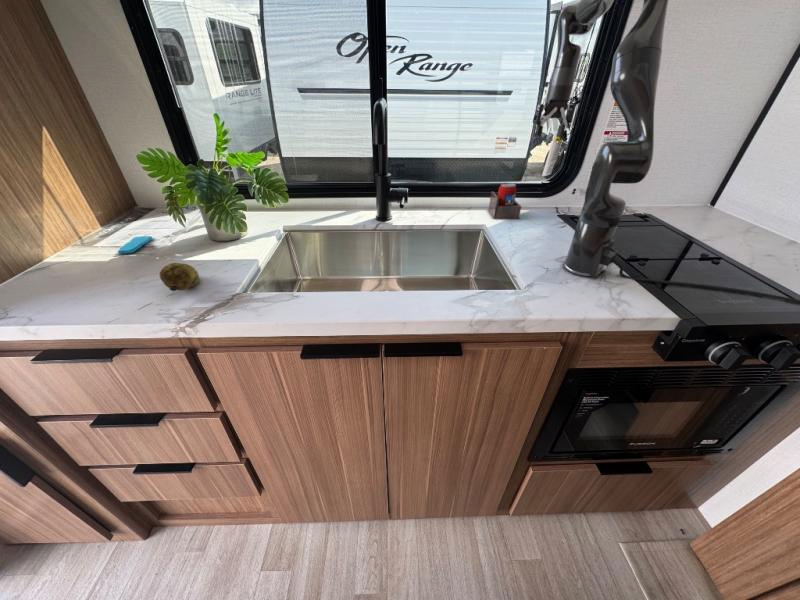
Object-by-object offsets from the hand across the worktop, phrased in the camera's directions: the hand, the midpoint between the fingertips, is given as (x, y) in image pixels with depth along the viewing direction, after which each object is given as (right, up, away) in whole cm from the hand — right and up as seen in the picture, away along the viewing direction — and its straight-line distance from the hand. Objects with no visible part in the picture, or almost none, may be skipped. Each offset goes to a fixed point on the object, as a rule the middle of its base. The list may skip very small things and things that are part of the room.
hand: (548, 137), depth 118 cm
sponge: (-142, -43, -13) cm, 149 cm away
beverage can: (-12, -25, +13) cm, 31 cm away
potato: (-111, -57, -34) cm, 129 cm away
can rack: (-12, -25, +13) cm, 31 cm away
